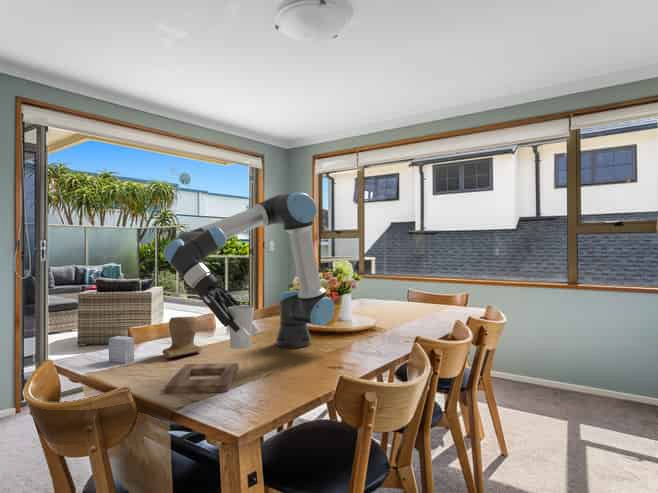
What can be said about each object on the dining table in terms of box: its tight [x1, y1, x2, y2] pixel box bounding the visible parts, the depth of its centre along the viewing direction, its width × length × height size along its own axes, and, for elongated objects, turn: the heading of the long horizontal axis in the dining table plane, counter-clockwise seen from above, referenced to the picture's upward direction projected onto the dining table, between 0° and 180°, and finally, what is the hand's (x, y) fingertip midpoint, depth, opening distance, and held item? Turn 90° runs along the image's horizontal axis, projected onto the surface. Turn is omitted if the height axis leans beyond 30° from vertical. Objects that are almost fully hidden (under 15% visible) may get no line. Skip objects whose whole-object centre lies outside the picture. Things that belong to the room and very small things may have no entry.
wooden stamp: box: [161, 316, 203, 359], centre depth 160 cm, size 15×12×15 cm
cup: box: [228, 304, 255, 350], centre depth 125 cm, size 8×8×12 cm
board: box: [164, 362, 239, 394], centre depth 130 cm, size 18×22×2 cm
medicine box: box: [108, 335, 135, 364], centre depth 150 cm, size 8×4×9 cm, turn 71°
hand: (251, 335), depth 125 cm, fingers closed on cup, 7 cm apart
